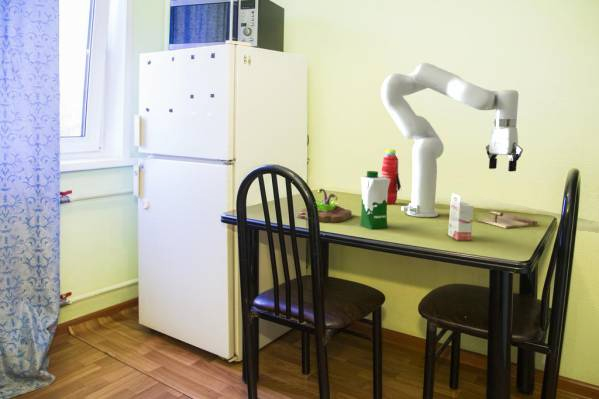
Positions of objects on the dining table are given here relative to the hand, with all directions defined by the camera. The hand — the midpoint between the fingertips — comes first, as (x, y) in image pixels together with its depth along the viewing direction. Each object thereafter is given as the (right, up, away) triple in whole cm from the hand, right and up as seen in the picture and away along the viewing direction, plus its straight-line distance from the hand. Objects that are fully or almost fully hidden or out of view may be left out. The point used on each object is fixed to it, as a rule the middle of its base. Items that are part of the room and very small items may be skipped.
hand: (502, 169), depth 189 cm
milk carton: (-49, -21, -5) cm, 54 cm away
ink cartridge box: (-23, -24, -20) cm, 39 cm away
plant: (-66, -18, +11) cm, 70 cm away
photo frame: (+2, -20, +3) cm, 21 cm away
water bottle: (-34, -13, +42) cm, 56 cm away
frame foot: (+9, -20, +6) cm, 23 cm away
